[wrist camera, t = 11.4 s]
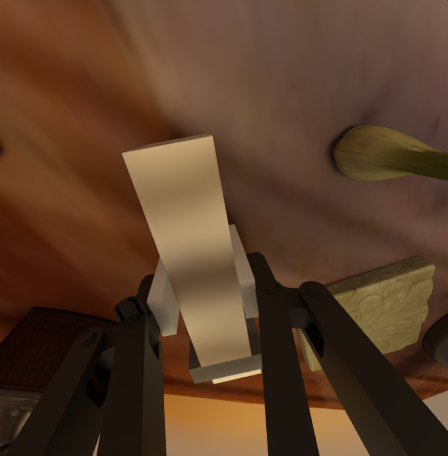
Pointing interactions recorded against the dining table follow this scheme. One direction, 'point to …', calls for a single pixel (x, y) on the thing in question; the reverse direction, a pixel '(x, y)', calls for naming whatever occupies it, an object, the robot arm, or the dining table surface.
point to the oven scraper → (196, 252)
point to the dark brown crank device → (35, 362)
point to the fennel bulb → (386, 155)
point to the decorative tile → (384, 305)
